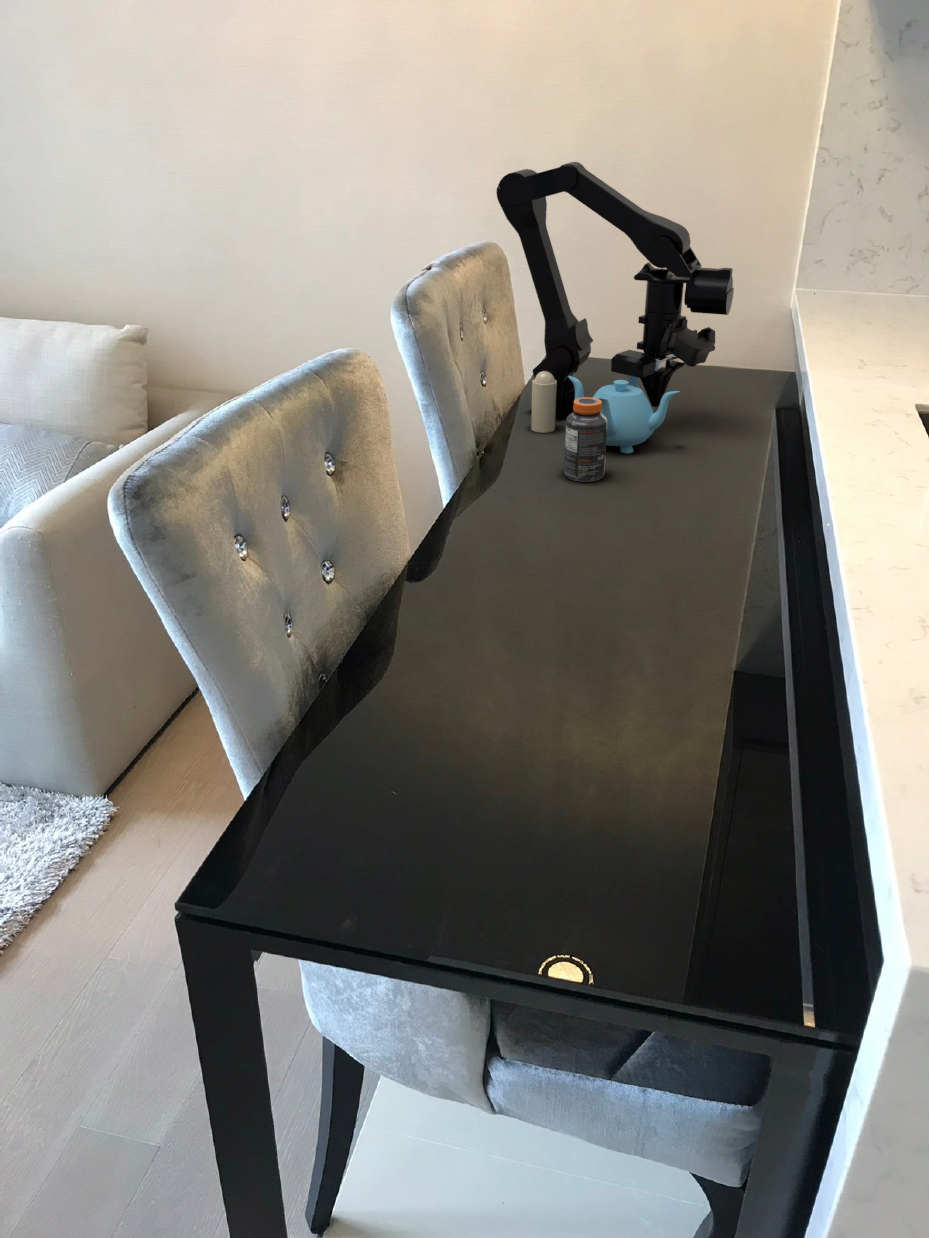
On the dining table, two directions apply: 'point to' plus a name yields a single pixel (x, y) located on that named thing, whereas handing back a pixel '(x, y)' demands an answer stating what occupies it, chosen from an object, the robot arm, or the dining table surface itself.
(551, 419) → the salt shaker
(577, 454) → the pill bottle
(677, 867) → the dining table surface
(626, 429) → the teapot
